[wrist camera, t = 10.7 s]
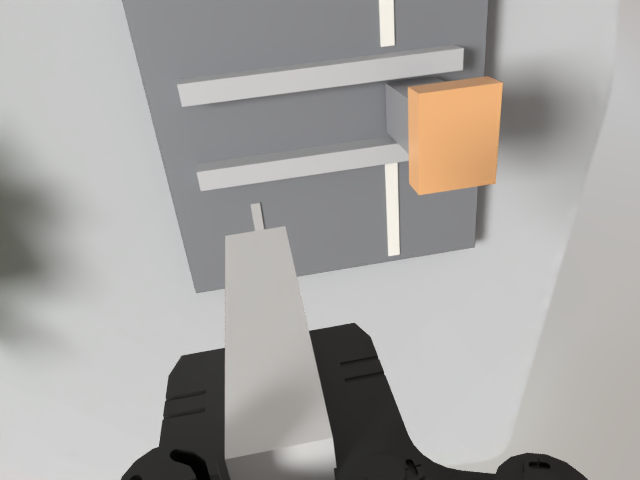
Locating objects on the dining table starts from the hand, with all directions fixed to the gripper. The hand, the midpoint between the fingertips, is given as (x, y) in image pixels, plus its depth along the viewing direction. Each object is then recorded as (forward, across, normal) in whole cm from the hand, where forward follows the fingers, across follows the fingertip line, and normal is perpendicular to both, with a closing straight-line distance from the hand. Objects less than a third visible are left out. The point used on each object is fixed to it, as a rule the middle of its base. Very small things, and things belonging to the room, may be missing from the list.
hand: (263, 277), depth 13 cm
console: (+21, +5, -2) cm, 21 cm away
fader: (+19, +10, -1) cm, 21 cm away
